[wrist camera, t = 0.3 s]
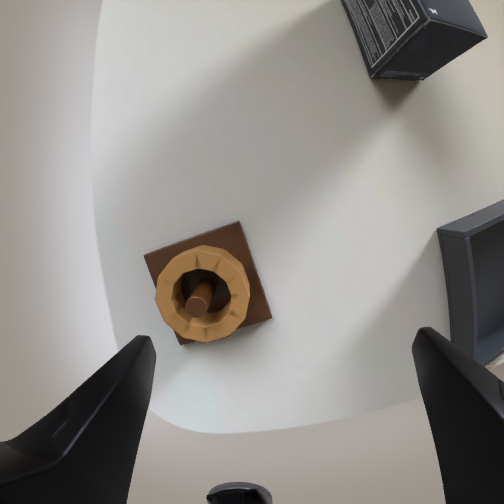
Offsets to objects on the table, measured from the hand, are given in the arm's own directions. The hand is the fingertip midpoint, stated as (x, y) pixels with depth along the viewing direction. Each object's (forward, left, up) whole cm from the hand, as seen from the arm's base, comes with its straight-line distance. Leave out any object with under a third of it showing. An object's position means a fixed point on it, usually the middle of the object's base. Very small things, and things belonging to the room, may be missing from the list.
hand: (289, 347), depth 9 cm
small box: (+17, -18, -15) cm, 28 cm away
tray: (-9, -23, -15) cm, 28 cm away
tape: (0, +5, -14) cm, 15 cm away
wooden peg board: (0, +5, -14) cm, 15 cm away
